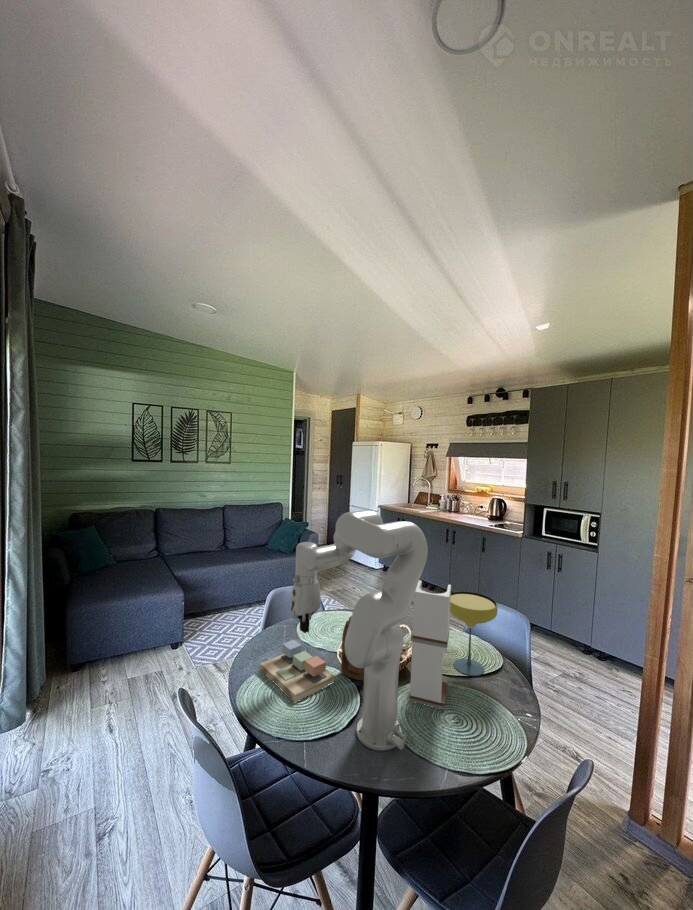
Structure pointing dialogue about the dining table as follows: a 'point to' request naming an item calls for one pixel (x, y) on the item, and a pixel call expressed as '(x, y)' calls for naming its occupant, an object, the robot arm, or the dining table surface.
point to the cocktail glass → (471, 622)
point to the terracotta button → (315, 666)
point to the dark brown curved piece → (345, 664)
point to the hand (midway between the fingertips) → (304, 630)
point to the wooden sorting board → (294, 677)
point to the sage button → (301, 659)
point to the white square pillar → (429, 646)
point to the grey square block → (291, 648)
